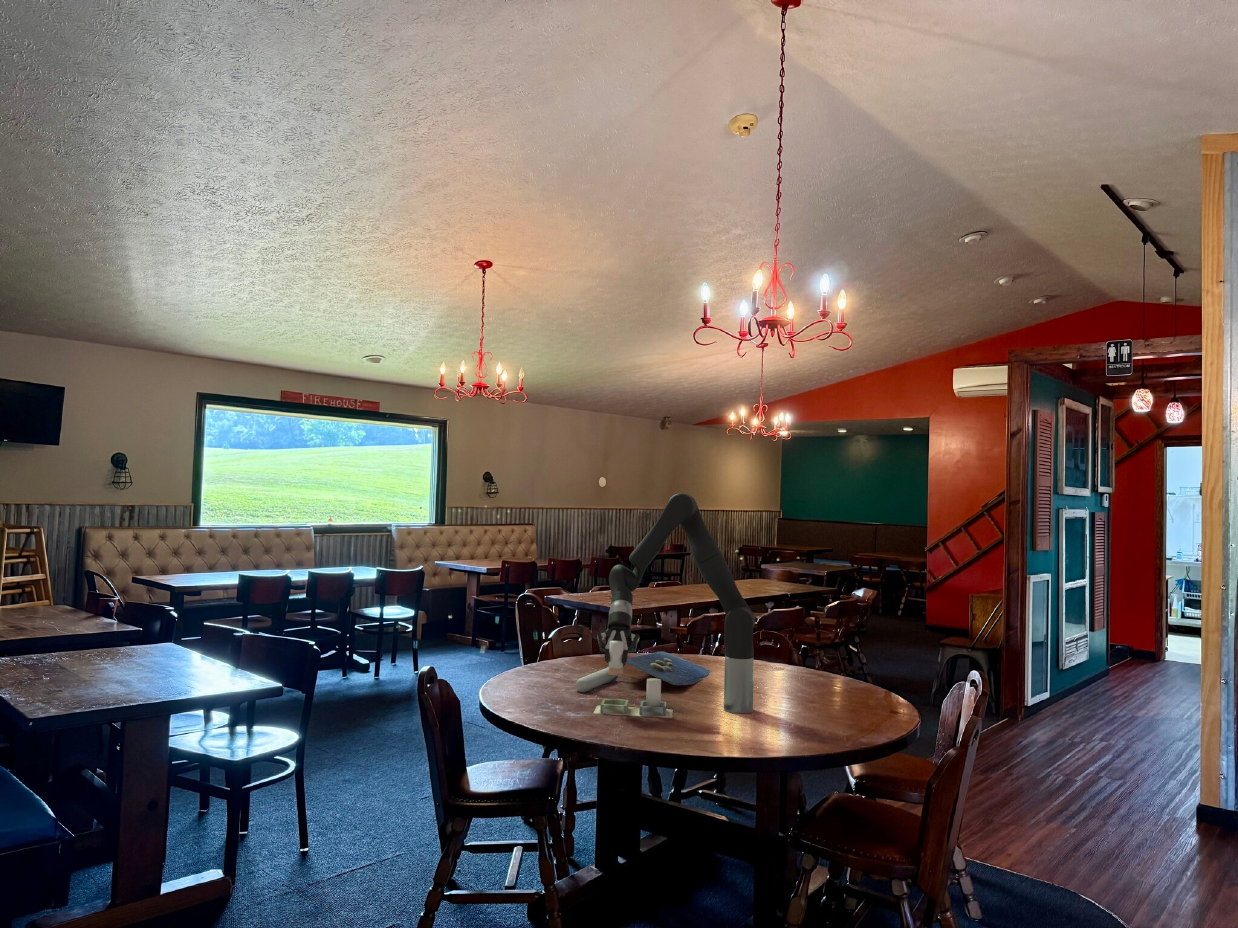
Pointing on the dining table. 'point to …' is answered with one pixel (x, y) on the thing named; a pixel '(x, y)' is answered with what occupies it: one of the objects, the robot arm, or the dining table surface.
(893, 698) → the dining table surface
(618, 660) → the white peg
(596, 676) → the tube
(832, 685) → the dining table surface
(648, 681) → the seated sleeve
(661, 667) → the serving platter
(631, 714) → the board
